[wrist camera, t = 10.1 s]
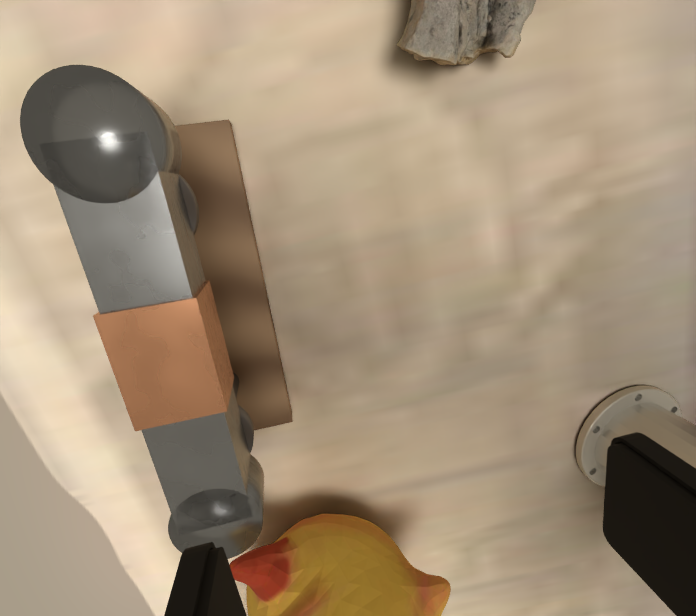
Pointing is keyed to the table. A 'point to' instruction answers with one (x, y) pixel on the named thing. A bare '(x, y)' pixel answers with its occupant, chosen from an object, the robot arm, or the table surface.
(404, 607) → the toy
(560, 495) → the table surface
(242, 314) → the rack
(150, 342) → the two-ball handle bar
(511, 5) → the rock
